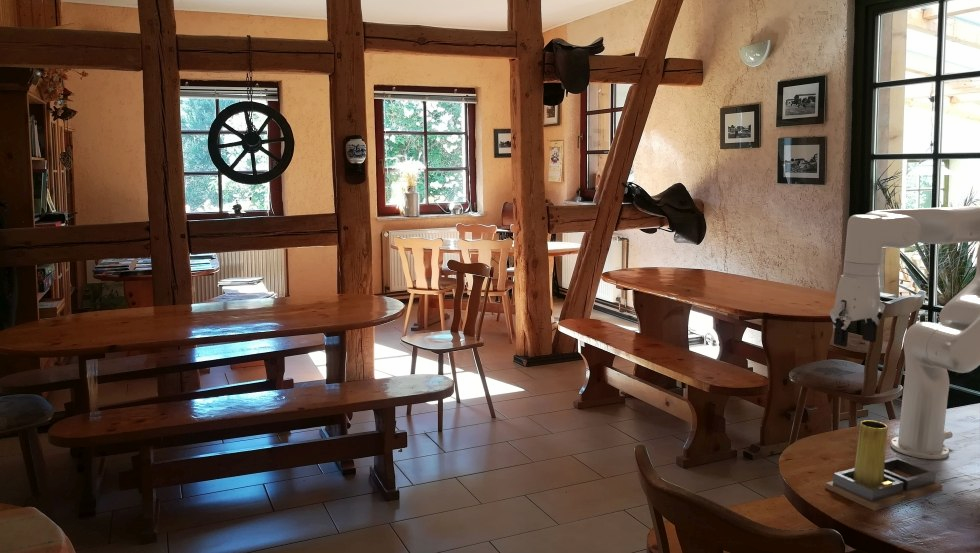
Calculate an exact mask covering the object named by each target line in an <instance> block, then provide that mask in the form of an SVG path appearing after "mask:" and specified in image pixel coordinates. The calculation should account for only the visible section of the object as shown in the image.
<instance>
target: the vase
mask: <svg viewBox="0 0 980 553" xmlns="http://www.w3.org/2000/svg"><path fill="white" fill-rule="evenodd" d="M888 428H889V427H888V425H887V424H885V423H884V422H880V421H877V420H871V419H869V420H868V419H865V420H861V421H860V422H859V431H858V438H857V448H856V455H855V462H854V468H855V469H854V478H853V480H855V481H857V482H860V483H862V484H864V485H867V486H869V487H871V488H874V487H877V486H880V485H881V483H882V482H883V481H884V464H885V460H886V450H887V440H888Z"/></svg>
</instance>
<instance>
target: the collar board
mask: <svg viewBox="0 0 980 553" xmlns="http://www.w3.org/2000/svg"><path fill="white" fill-rule="evenodd" d="M890 472H893V473H895V474H898V475H900V476H903V477H905V478H909V477H913V476H910V475H908V474H905V473H903V472H901V471H898V470H894V471H890ZM825 489H827V490H829V491H831V492H833V493H835V494H838V495H839V496H842V497H844V498H846V499H848V500H850V501H852V502H854V503H856V504H859V505H861V506H863V507H865V508H868V509H870V510H871V511H875V512H876V511H878V510H883V509H885V508H888V507H891V506H890V505H892V506H894V505H893V504H895V505H897V504H896V503H898V504H900V503H899V502H902V503H904V502H903V501H905V502H907V501H906V500H908V501H911V500H910V499H912V500H915V499H918V498H920V497H925V496H928V495H931V494H934V493H937V492H940V491H943V484H941V483H938V482H937V481H936V482H935V484H932V485H929V486H925V487H922V488H918V489H915V490H912V491H908V492H906V491H903V492H902V493H901V494H898V495H895V496H891V497H888V498H885V499H881V500H878V501H874V502H870V501H868V500H866V499H864V498H862V497H859V496H857V495H855V494H853V493H851V492H848V491H846V490H844V489H842V488H840V487H838V486H835V485H833V480H831V481H827V482H825Z"/></svg>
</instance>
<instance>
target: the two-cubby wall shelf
mask: <svg viewBox="0 0 980 553" xmlns="http://www.w3.org/2000/svg"><path fill="white" fill-rule="evenodd" d="M854 469H855V467H852V468H848V469H845V470H841V471H838V472H837V471H836V472H834V473H833V477H832V481H833V485H835V486H838V487H840V488H842V489H844V490H846V491H848V492H851V493H853V494H855V495H857V496H859V497H862V498H864V499H866V500H868V501H870V502H874V501H878V500H881V499H885V498H888V497H891V496H895V495H898V494H901V493H902V492H903V491H906V492H908V491H912V490H915V489H918V488H922V487H925V486H929V485H932V484H935V482H936V483H937V481H936V480H937V472H936V471H933V470H931V469H928V468H925V467H923V466H920V465H918V464H916V463H913V462H910V461H908V460H906V459H902V458H900V457H898V456H895V457H890V458H887V459H885V464H884V481H883V482H882V483H881V485H880V486H877V487H874V488H871V487H869V486H867V485H864V484H862V483H860V482H857V481H855V480H853V478H854ZM894 470H898V471H901V472H903V473H905V474H908V475H910V476H913V477H909V478H905V477H903V476H900V475H898V474H895V473H893V472H890V471H894Z"/></svg>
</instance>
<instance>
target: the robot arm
mask: <svg viewBox="0 0 980 553" xmlns="http://www.w3.org/2000/svg"><path fill="white" fill-rule="evenodd" d="M974 242H980V204H979V205H977V204H976V205H965V206H964V205H963V206H953V207H952V206H949V207H928V208H927V207H926V208H925V207H924V208H906V209H905V208H903V209H901V208H899V209H898V208H897V209H884V210H883V209H882V210H881V209H880V210H872V211H869V212H866V213H865V214H853V215H851V216H849V218H848V220H847V227H846V239H845V248H844V249H845V250H844V260H843V273H842V275H840V278H839V281H838V285H837V288H836V295H835V301H834V307H833V308H831V309H830V310H829V315H830V321H831V323H832V327H833V328H834V334H833V344H834V345H836V346H838V347H839V346H840V347H843V348H846V347H847V346H848V340H849V329H848V327H849V325H850V324H851V322H854V321H862V320H864V322H863V327H862V337H861V339H862V340H863V341H866V342H871V343H876V342H877V333H878V326H879V325H880V320H881V319H882V317H883V313H884V310H885V308H886V305H885V304H884V303H883V302H882V301H881V278H880V275H881V273H880V272H881V263H882V253H883V247H884V248H885V247H886V248H896V249H907V248H910V247H912V246H914V245H916V244H917V243H922V244H930V245H950V244H951V245H952V244H960V243H962V244H963V243H974ZM843 320H844V321H843ZM939 322H940V324H939V323H935V322H931V321H919V322H916V323H913V324H912V325H911V326H909V327H908V329H907V330H906V332H905V334H904V337H903V351H904V353H903V354H904V359H905V360H904V362H905V364H904V365H905V368H904V369H905V371H904V382H903V383H904V384H903V388H902V389H903V392H902V399H901V400H902V401H901V409H900V418H899V419H900V420H899V428H898V436H895V437H893V438H891V440H890V446H891V448H892V449H893V450H895V451H897V452H899V453H901V454H903V455H906V456H908V457H913V458H918V459H925V460H942V459H946V458H947V457H949V454H950V449H949V448H948V447H947V446H946V445H945V444H944V443H945V441H946V440H949V439H951V438H953V435H954V434H953V432H952V431H951V430H945V426H946V424H945V423H946V418H947V417H946V416H947V415H946V414H947V409H948V408H947V407H948V398H949V391H950V377H949V372H948V371H952V372H956V373H959V374H965V373H966V374H967V373H970V372H972V371H973V370H975V369H977V368H978V367H979V366H980V244H979V245H978V248H977V250H976V271H975V275H974V278H973V279H972V280H970V282H969V283H968V284H967V285H966V286H965V287H963V289H962V290H960V291H959V292H958V293H956V295H955V296H954V297H952V298H951V299H950V300H949V301H948V302H947V303H946V304H945V305H944V306H943V307H942V308H941V310H940V313H939Z"/></svg>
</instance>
